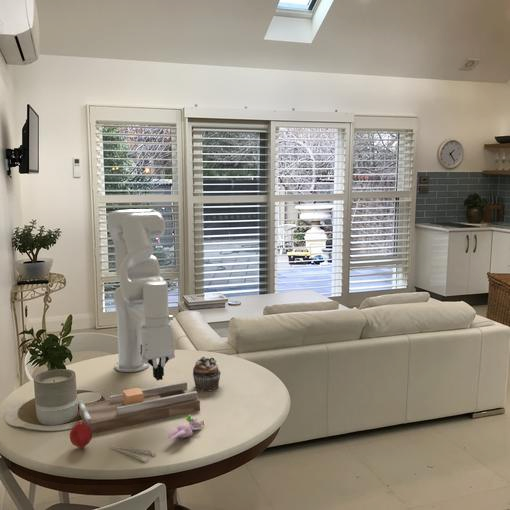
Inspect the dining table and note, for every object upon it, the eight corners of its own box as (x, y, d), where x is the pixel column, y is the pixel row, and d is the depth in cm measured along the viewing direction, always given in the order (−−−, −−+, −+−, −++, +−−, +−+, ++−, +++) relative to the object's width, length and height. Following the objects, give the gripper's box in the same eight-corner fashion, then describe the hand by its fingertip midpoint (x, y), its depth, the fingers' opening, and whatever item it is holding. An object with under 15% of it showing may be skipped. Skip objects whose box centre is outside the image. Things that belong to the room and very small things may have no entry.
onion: (70, 444, 148) (68, 417, 146) (92, 441, 150) (90, 413, 148) (71, 455, 142) (69, 426, 141) (93, 451, 144) (92, 423, 143)
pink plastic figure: (190, 427, 160) (160, 442, 147) (192, 407, 160) (162, 420, 147) (208, 432, 158) (179, 447, 144) (210, 411, 158) (181, 425, 144)
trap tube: (79, 414, 166) (78, 399, 165) (184, 393, 181) (184, 379, 180) (88, 434, 153) (87, 417, 153) (199, 409, 169) (199, 394, 168)
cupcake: (189, 390, 184) (188, 362, 182) (198, 380, 193) (198, 353, 191) (215, 393, 181) (215, 364, 180) (224, 382, 191) (224, 355, 189)
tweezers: (157, 456, 143) (156, 449, 142) (146, 465, 138) (145, 458, 138) (105, 446, 150) (104, 439, 150) (93, 454, 146) (92, 447, 146)
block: (123, 402, 167) (122, 390, 166) (139, 399, 169) (138, 387, 169) (127, 409, 163) (127, 396, 162) (143, 405, 165) (143, 393, 164)
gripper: (175, 315, 172) (177, 371, 175) (129, 321, 165) (131, 379, 168) (183, 320, 166) (185, 378, 168) (135, 327, 159) (138, 387, 161)
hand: (158, 378), depth 168 cm, fingers closed
